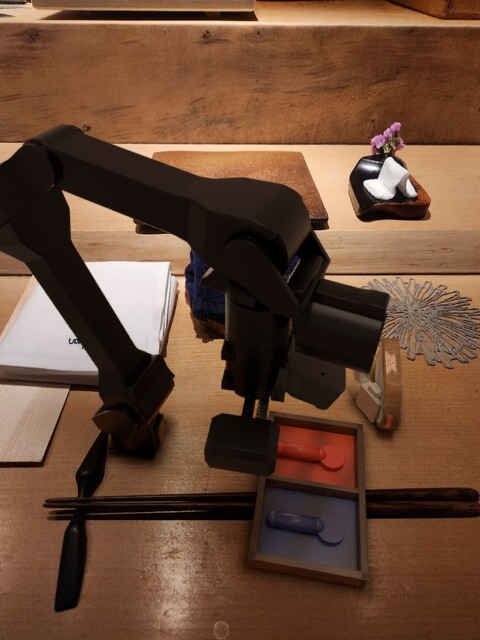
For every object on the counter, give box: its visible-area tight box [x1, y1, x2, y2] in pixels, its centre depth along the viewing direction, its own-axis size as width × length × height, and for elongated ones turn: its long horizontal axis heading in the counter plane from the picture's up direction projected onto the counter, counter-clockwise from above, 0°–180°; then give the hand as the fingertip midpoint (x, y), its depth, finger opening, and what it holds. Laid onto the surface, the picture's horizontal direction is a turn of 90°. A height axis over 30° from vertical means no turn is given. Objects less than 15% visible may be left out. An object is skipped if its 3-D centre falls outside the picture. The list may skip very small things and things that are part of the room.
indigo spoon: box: [266, 510, 346, 546], centre depth 54 cm, size 9×3×2 cm, turn 80°
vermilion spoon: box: [277, 442, 345, 472], centre depth 61 cm, size 9×3×2 cm, turn 81°
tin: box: [374, 337, 405, 432], centre depth 67 cm, size 15×3×8 cm, turn 168°
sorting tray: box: [246, 410, 370, 589], centre depth 58 cm, size 13×20×3 cm, turn 171°
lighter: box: [353, 370, 382, 424], centre depth 66 cm, size 7×2×8 cm, turn 26°
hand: (251, 430), depth 51 cm, fingers open, 9 cm apart
